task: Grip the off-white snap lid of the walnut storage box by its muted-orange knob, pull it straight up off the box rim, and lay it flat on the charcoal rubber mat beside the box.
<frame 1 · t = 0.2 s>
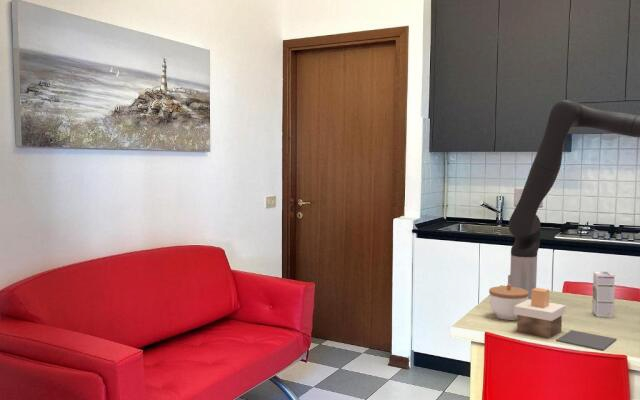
mat: (586, 340, 178), on the table
syrup box: (602, 315, 206), on the table
lidded bowl: (508, 317, 203), on the table
lid: (539, 313, 187), point 5 cm above the table, touching storage box
storage box: (539, 331, 187), on the table
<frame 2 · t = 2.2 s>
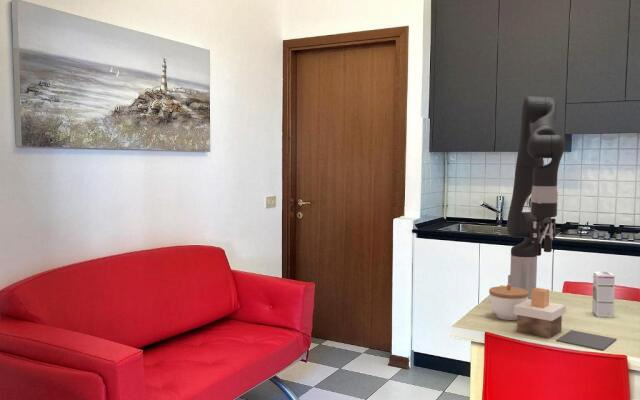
hand: (542, 253, 185), 24 cm above the table, fingers open, 8 cm apart
nothing on the table moved.
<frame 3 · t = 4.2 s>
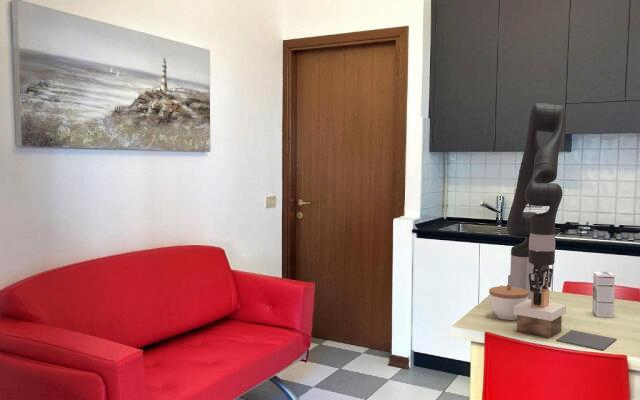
hand: (540, 303, 186), 9 cm above the table, fingers closed on lid, 4 cm apart
lid: (539, 313, 187), point 6 cm above the table, touching gripper, storage box
everything else where it was.
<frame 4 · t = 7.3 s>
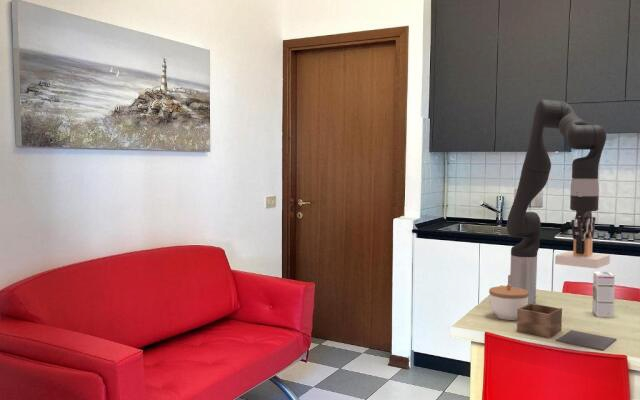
hand: (582, 252, 177), 26 cm above the table, fingers closed on lid, 4 cm apart
lid: (582, 263, 177), point 23 cm above the table, touching gripper
everything else where it was.
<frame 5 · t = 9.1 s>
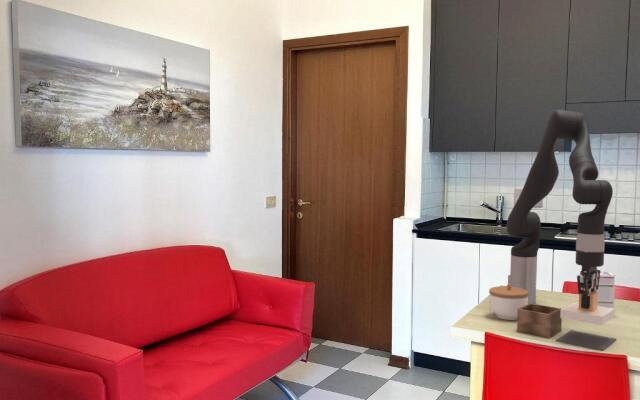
hand: (587, 306, 177), 10 cm above the table, fingers closed on lid, 4 cm apart
lid: (587, 317, 178), point 7 cm above the table, touching gripper
everything else where it was.
when the fingers open (5 cm above the table, at t = 10.5 s): lid drops 1 cm, resting on mat.
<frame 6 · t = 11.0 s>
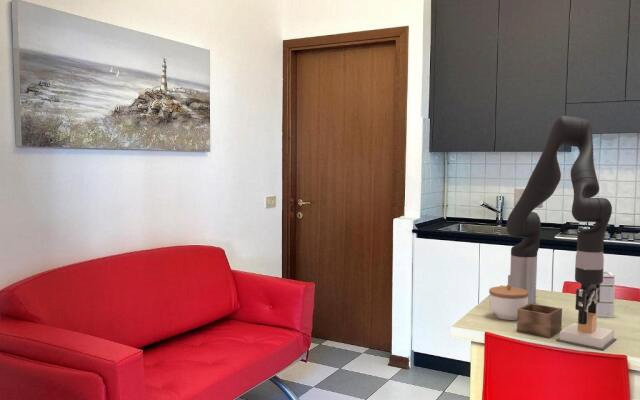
hand: (587, 320, 178), 6 cm above the table, fingers open, 8 cm apart
lid: (586, 339, 178), resting on mat
everything else where it was.
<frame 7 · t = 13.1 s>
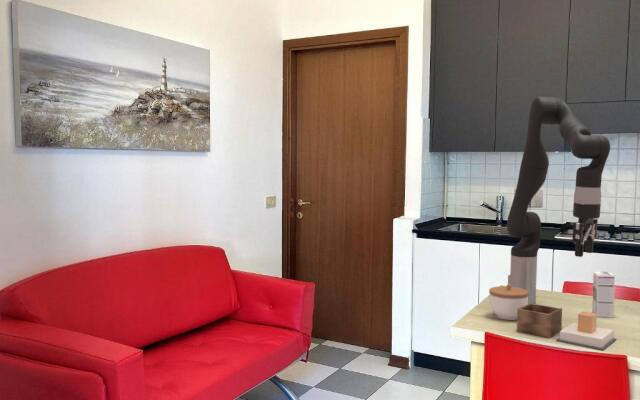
hand: (583, 254, 185), 24 cm above the table, fingers open, 8 cm apart
nothing on the table moved.
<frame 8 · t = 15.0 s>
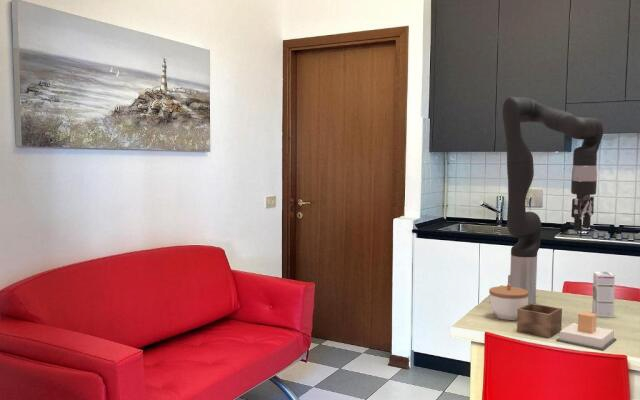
hand: (582, 229, 197), 30 cm above the table, fingers open, 8 cm apart
nothing on the table moved.
at the end: lid inside the target area on the mat (0.2 cm from its centre), point 0.4 cm above the mat's base; lid tilted 0°; the gripper is holding nothing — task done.
